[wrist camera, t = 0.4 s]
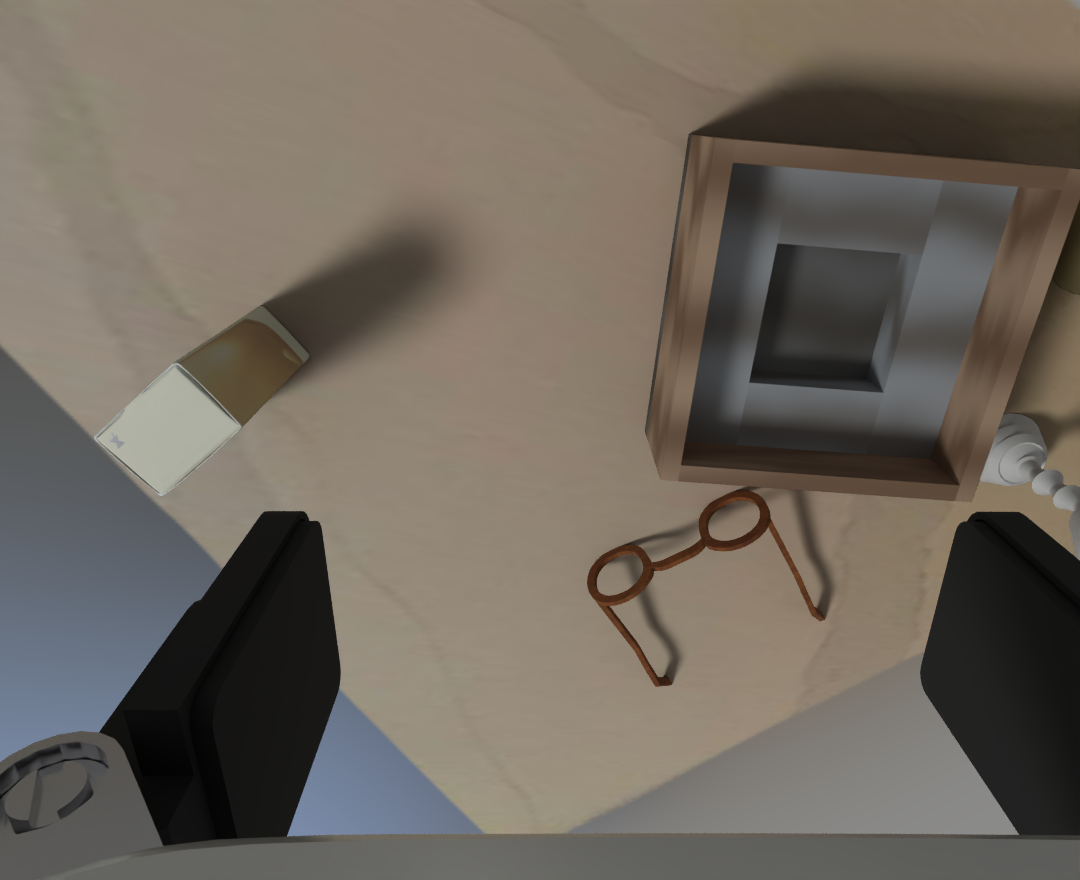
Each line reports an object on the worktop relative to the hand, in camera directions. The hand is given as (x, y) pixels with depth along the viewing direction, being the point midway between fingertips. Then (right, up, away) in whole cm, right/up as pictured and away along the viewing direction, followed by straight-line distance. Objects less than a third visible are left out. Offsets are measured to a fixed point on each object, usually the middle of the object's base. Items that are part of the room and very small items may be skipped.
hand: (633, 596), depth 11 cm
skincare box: (-19, +8, +36) cm, 41 cm away
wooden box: (+15, +10, +34) cm, 39 cm away
